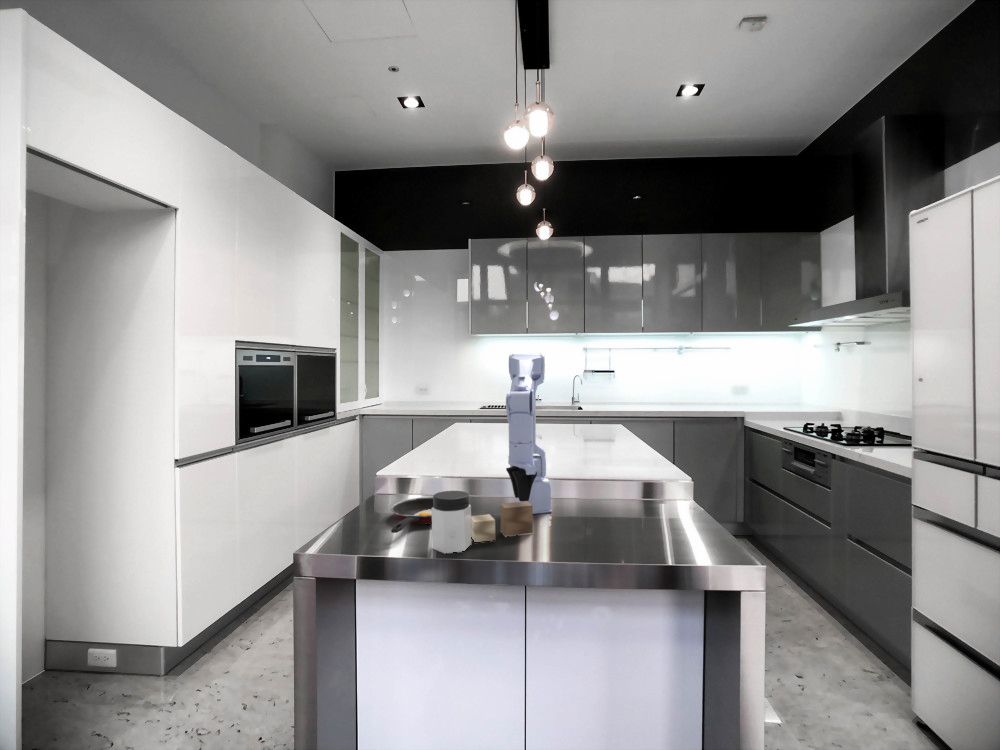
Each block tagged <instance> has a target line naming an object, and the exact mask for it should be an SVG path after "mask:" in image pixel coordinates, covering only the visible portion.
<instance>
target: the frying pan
mask: <svg viewBox="0 0 1000 750" xmlns="http://www.w3.org/2000/svg"><path fill="white" fill-rule="evenodd" d="M432 507H433V496H427V497H425V496H424V497H413V498H409V499H403V500H401V501H398V502H395V503H393V504H392V505H391V506H390V508H389V510H390V511H391V513H393V514H394V516H395V517H396V518H397V519H398V520H400V521H399V522H398V523H396V524H395V525H394V526H392V528H391V530H390V533H394V534H397V533H399V532H401V531H403V529H405V527H407V526H408V525H409V524H410V523H412V524H411V525H426V524H425V523H432V511H431V510H428V509H432Z"/></svg>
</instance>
